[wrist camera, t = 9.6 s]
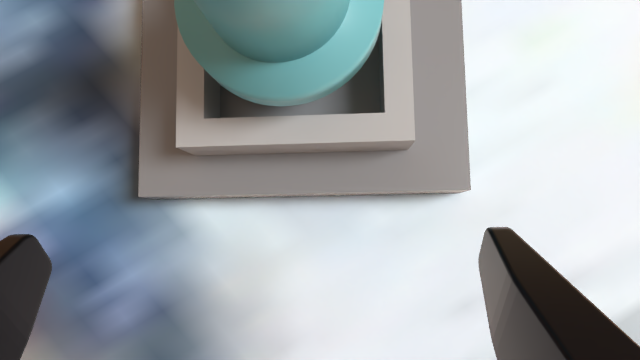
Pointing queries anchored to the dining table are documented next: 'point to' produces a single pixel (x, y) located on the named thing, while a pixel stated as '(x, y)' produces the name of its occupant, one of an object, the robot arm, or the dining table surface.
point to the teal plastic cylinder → (280, 44)
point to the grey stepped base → (310, 118)
